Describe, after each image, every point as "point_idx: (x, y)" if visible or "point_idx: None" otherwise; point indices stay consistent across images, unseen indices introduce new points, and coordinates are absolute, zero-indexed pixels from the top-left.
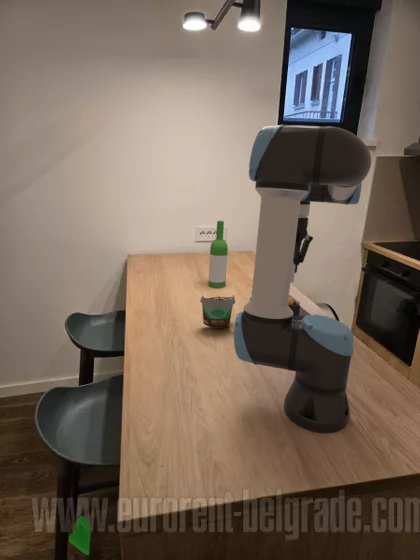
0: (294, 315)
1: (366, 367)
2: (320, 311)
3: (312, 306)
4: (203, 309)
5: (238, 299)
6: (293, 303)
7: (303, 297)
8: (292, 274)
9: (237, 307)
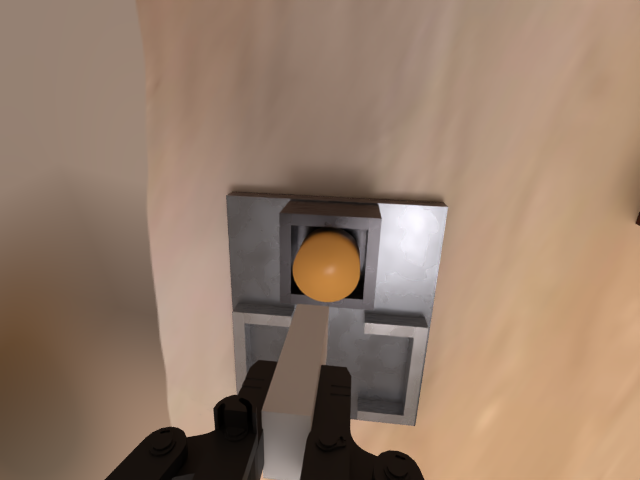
0: (312, 201)
1: None
2: (156, 266)
3: (168, 320)
4: None
5: (452, 436)
6: (303, 243)
7: (168, 408)
8: (304, 342)
9: (503, 362)
